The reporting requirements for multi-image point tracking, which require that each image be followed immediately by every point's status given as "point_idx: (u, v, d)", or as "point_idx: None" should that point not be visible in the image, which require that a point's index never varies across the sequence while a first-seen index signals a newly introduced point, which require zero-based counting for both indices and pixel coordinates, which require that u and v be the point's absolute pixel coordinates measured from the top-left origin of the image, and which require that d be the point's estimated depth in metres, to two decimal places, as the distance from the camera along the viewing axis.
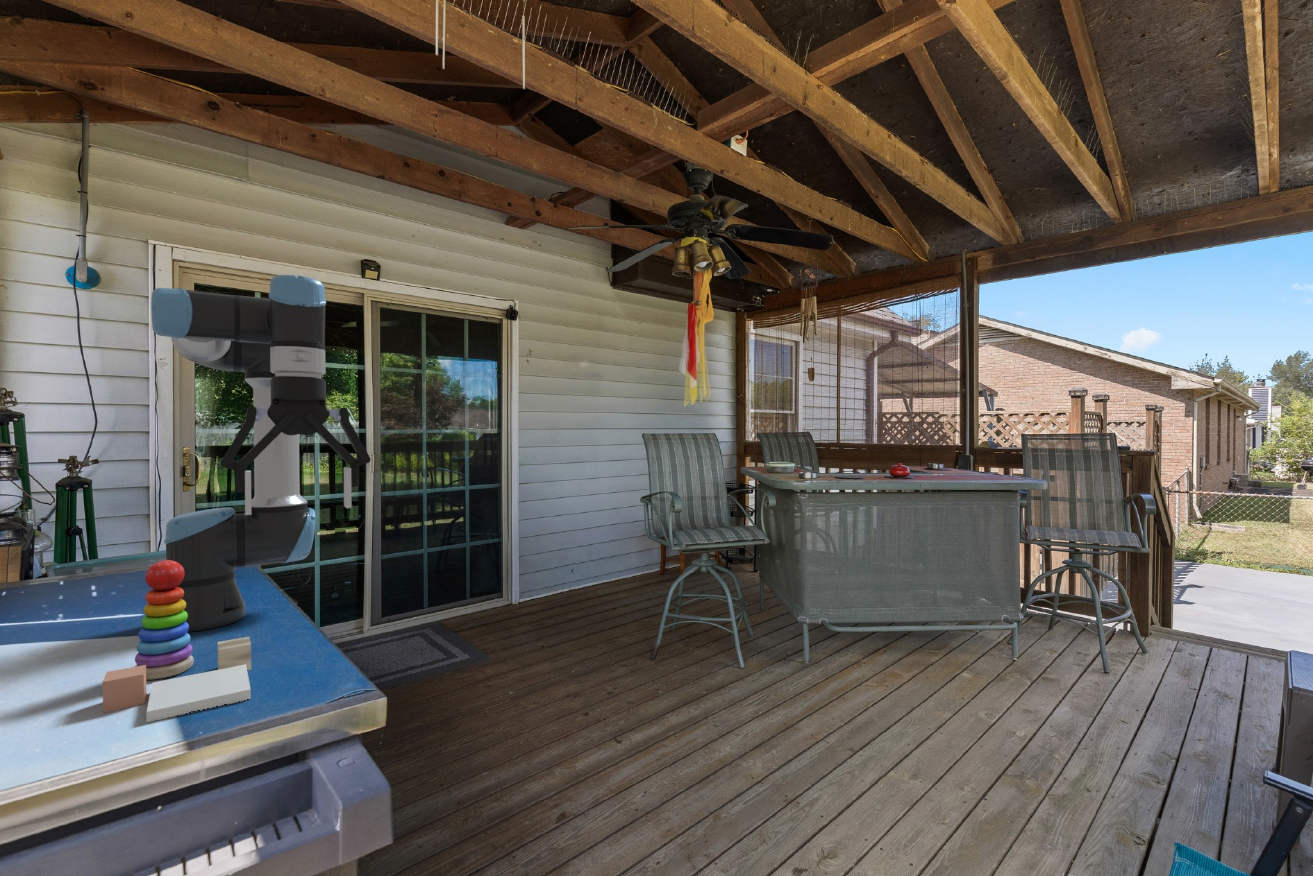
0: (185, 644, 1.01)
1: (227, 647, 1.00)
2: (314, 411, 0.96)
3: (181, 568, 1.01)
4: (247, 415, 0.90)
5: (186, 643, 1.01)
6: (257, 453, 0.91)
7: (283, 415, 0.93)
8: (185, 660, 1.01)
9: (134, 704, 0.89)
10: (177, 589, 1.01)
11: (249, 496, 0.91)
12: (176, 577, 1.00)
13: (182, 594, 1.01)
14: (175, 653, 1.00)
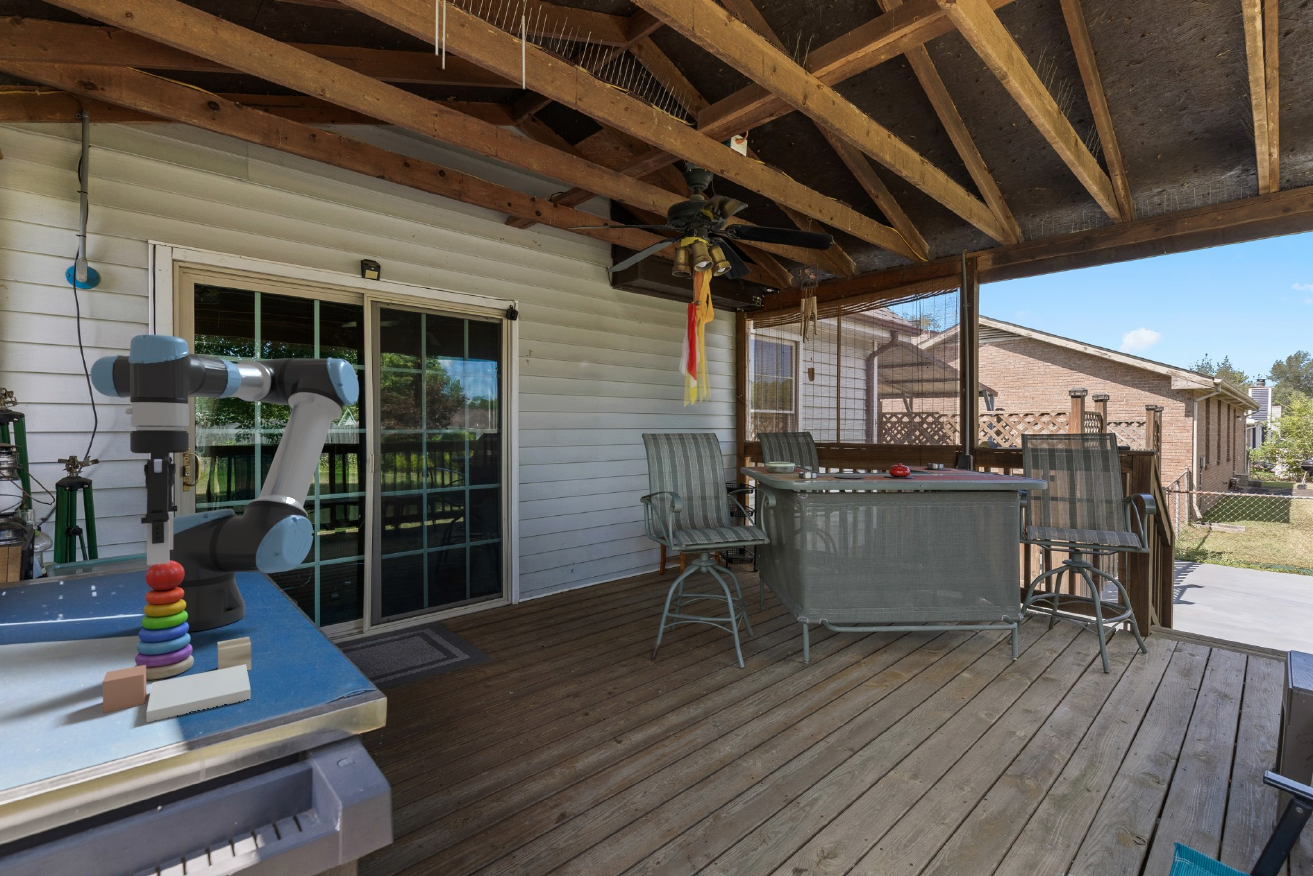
0: (185, 644, 1.01)
1: (227, 647, 1.00)
2: None
3: (181, 568, 1.01)
4: None
5: (186, 643, 1.01)
6: None
7: None
8: (185, 660, 1.01)
9: (134, 704, 0.89)
10: (177, 589, 1.01)
11: None
12: (176, 577, 1.00)
13: (182, 594, 1.01)
14: (175, 653, 1.00)
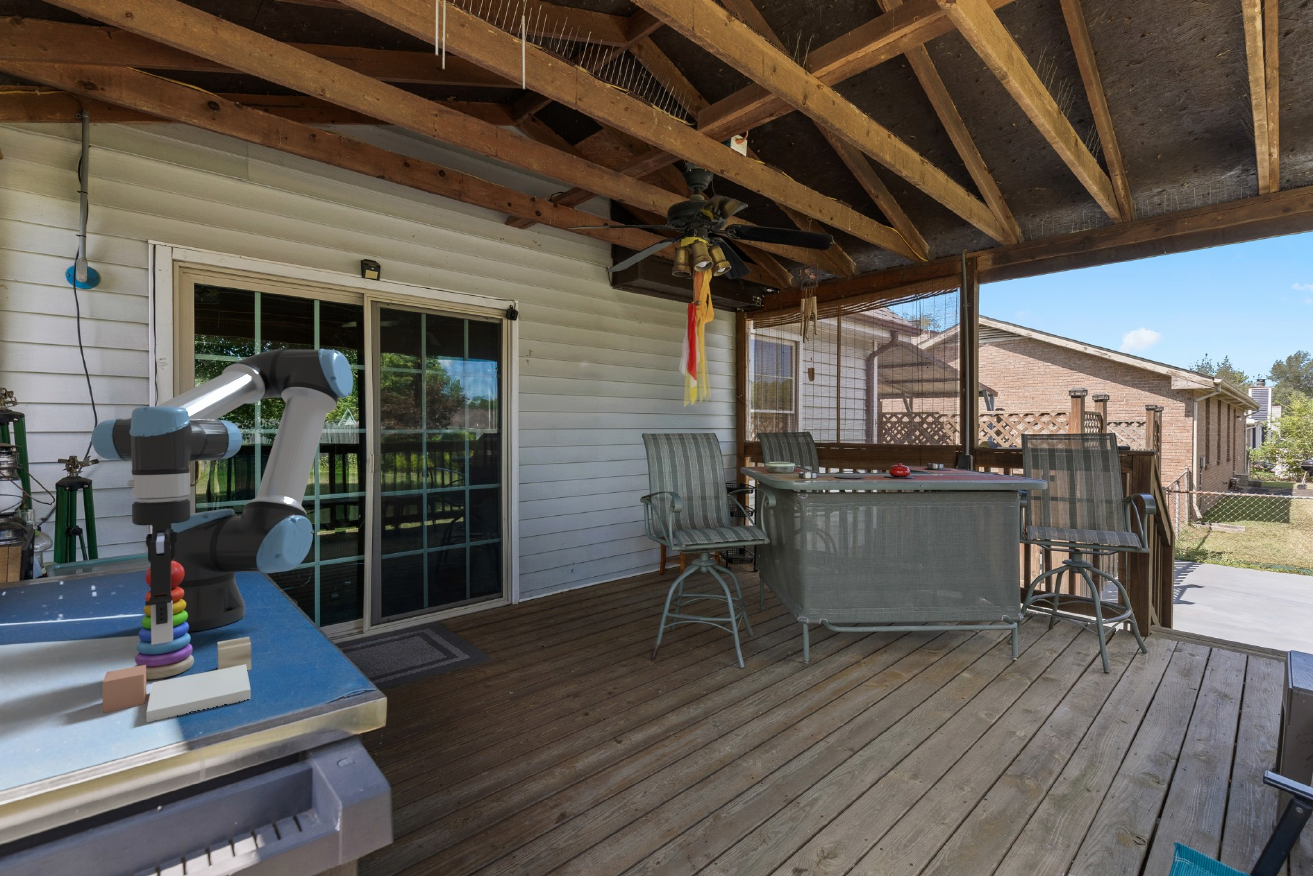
0: (185, 644, 1.01)
1: (227, 647, 1.00)
2: None
3: (181, 568, 1.01)
4: None
5: (186, 643, 1.01)
6: None
7: None
8: (185, 660, 1.01)
9: (134, 704, 0.89)
10: (177, 589, 1.01)
11: None
12: (176, 577, 1.00)
13: (182, 594, 1.01)
14: (175, 653, 1.00)
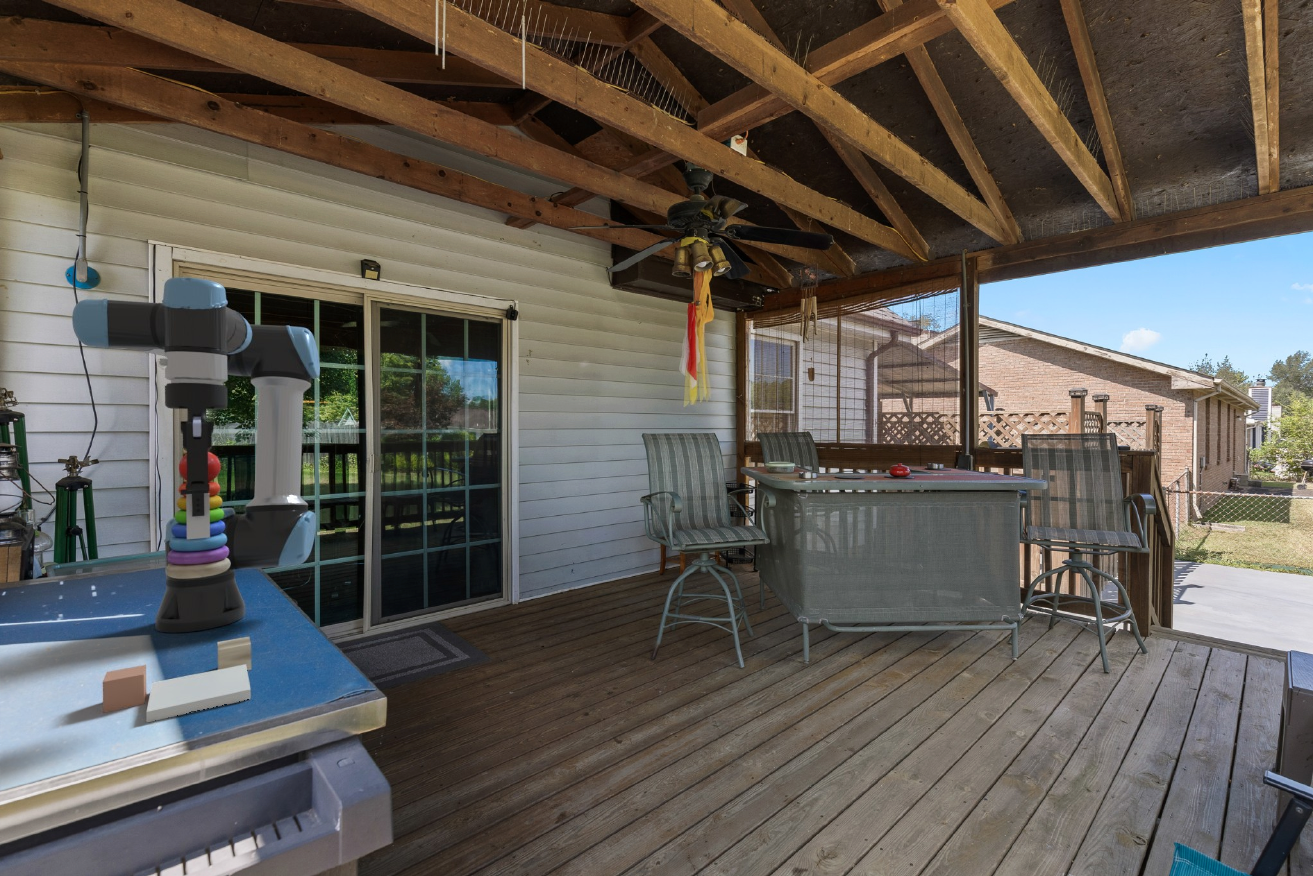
0: (222, 543, 0.92)
1: (227, 647, 1.00)
2: None
3: (217, 460, 0.92)
4: None
5: (223, 542, 0.92)
6: None
7: None
8: (222, 561, 0.92)
9: (134, 704, 0.89)
10: (213, 482, 0.92)
11: None
12: (212, 468, 0.91)
13: (218, 488, 0.92)
14: (212, 552, 0.90)
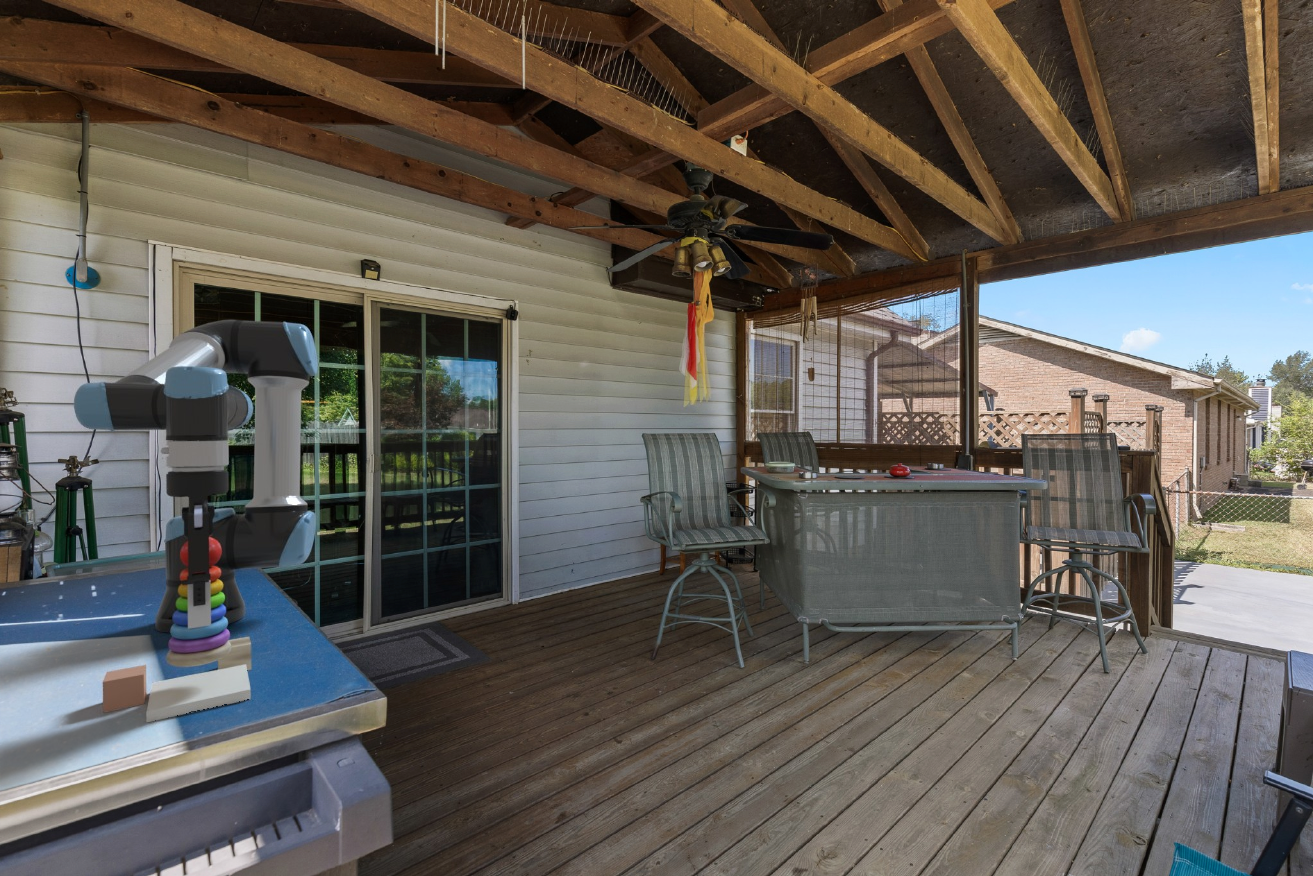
0: (223, 628, 0.92)
1: None
2: None
3: (218, 545, 0.92)
4: None
5: (224, 627, 0.92)
6: None
7: None
8: (223, 646, 0.92)
9: (134, 704, 0.89)
10: (214, 567, 0.92)
11: None
12: (213, 554, 0.91)
13: (219, 573, 0.92)
14: (213, 638, 0.90)
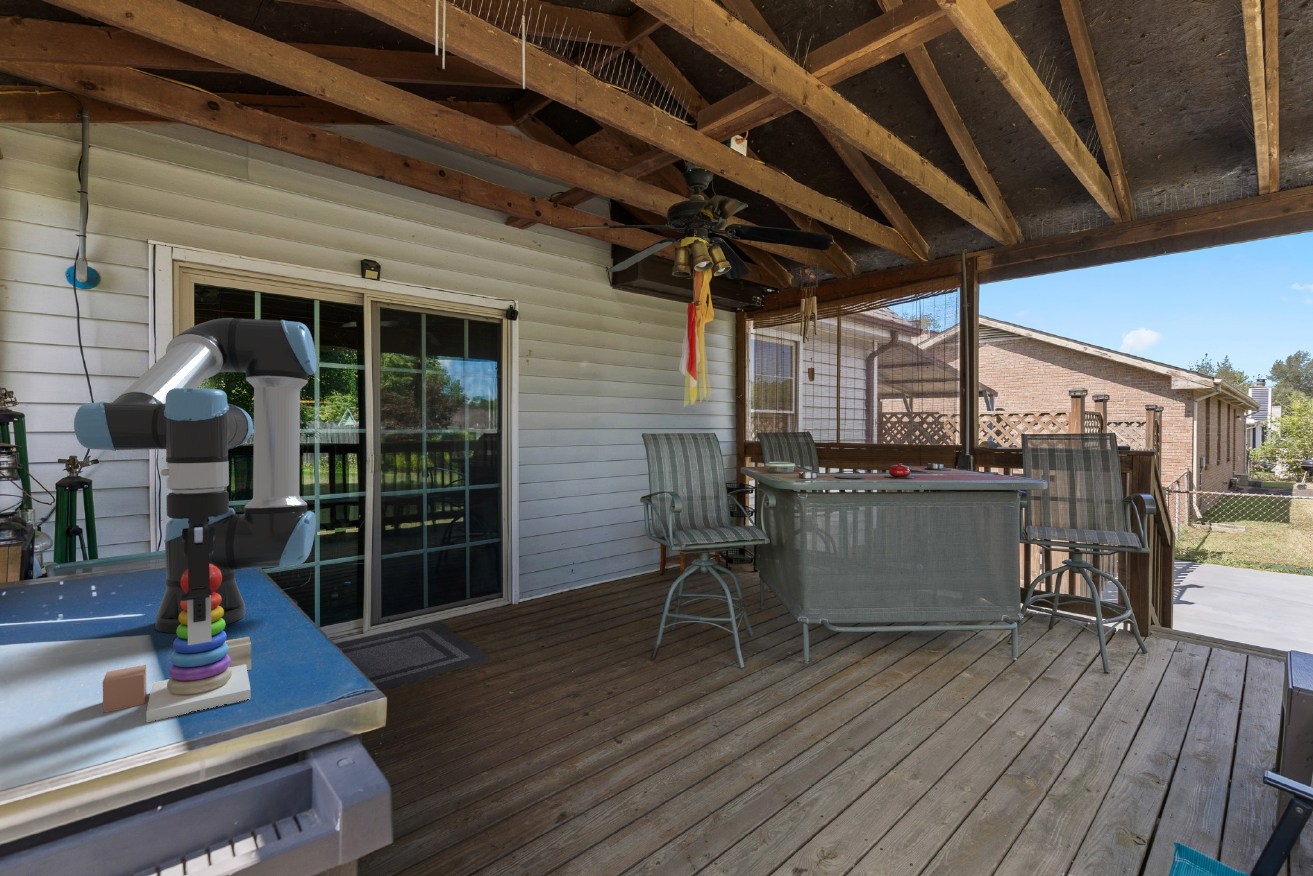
0: (223, 655, 0.92)
1: None
2: None
3: (219, 572, 0.92)
4: None
5: (224, 654, 0.92)
6: None
7: None
8: (223, 673, 0.92)
9: (134, 704, 0.89)
10: (214, 594, 0.92)
11: None
12: (214, 582, 0.91)
13: (220, 600, 0.93)
14: (213, 666, 0.91)
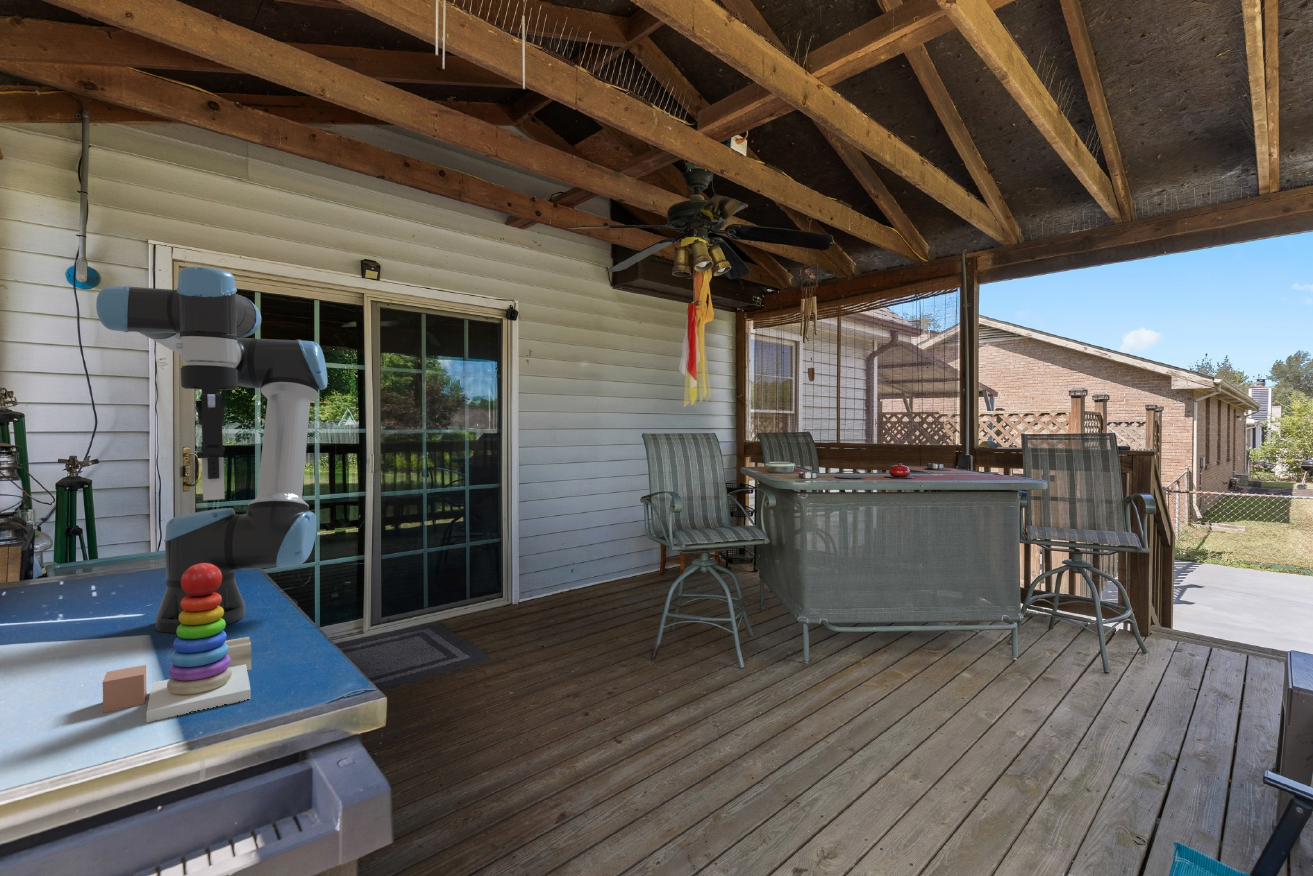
0: (223, 655, 0.92)
1: None
2: None
3: (219, 572, 0.92)
4: None
5: (224, 654, 0.92)
6: (202, 437, 1.03)
7: None
8: (223, 673, 0.92)
9: (134, 704, 0.89)
10: (215, 594, 0.92)
11: (202, 474, 1.04)
12: (214, 582, 0.91)
13: (220, 600, 0.93)
14: (213, 665, 0.91)
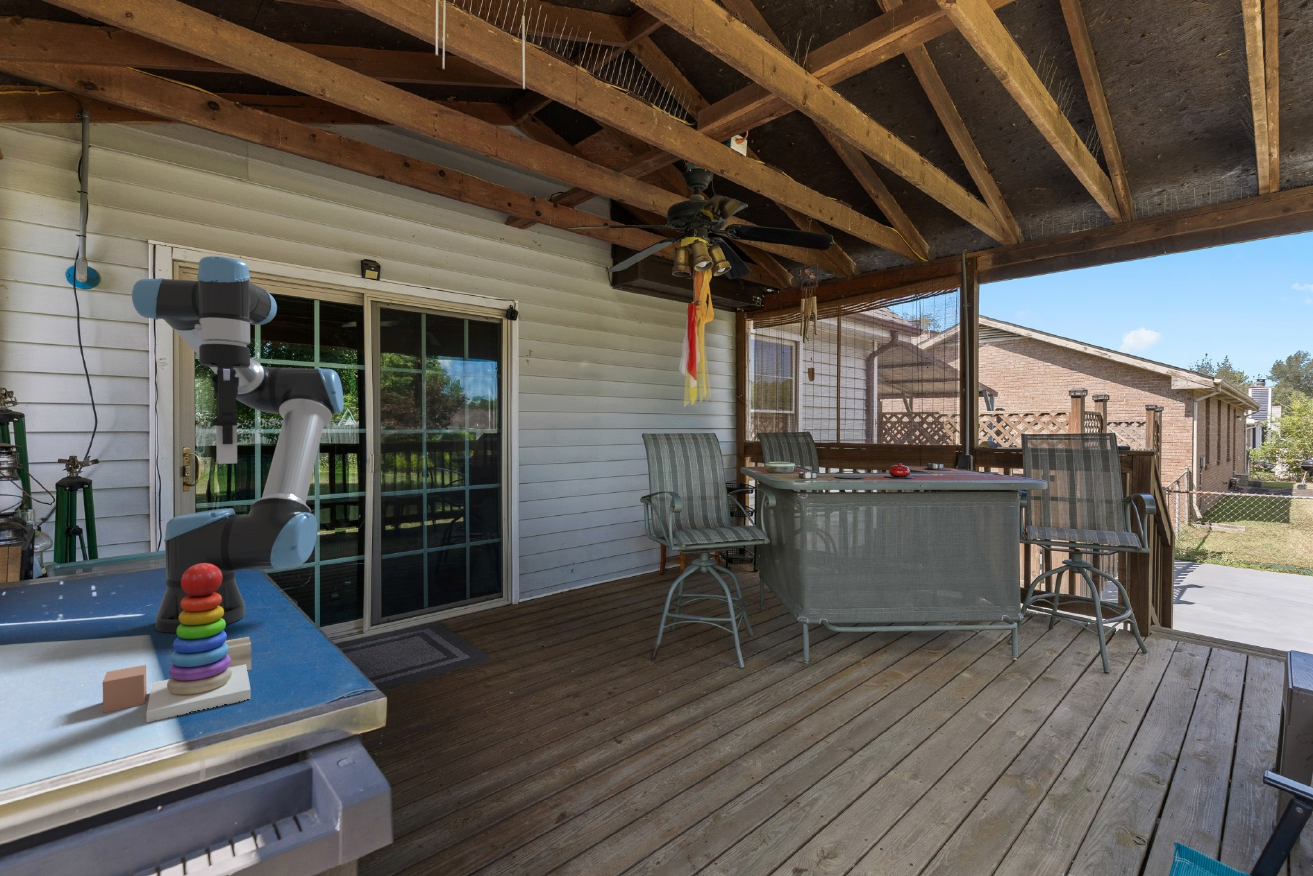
0: (223, 655, 0.92)
1: None
2: (218, 374, 1.07)
3: (219, 572, 0.92)
4: None
5: (224, 654, 0.92)
6: (217, 411, 1.13)
7: None
8: (223, 673, 0.92)
9: (134, 704, 0.89)
10: (215, 594, 0.92)
11: None
12: (214, 582, 0.91)
13: (220, 600, 0.93)
14: (213, 666, 0.91)
